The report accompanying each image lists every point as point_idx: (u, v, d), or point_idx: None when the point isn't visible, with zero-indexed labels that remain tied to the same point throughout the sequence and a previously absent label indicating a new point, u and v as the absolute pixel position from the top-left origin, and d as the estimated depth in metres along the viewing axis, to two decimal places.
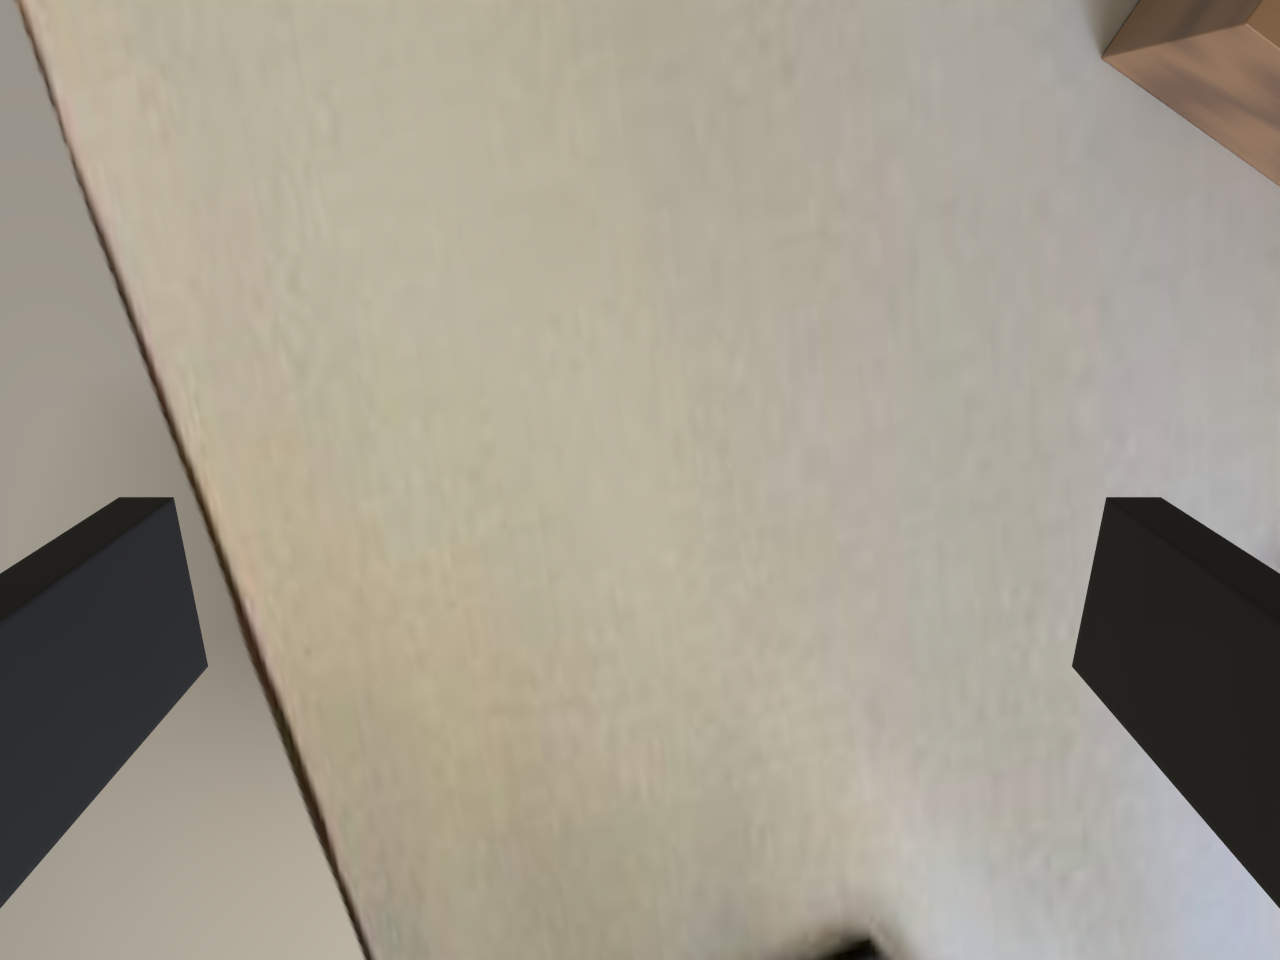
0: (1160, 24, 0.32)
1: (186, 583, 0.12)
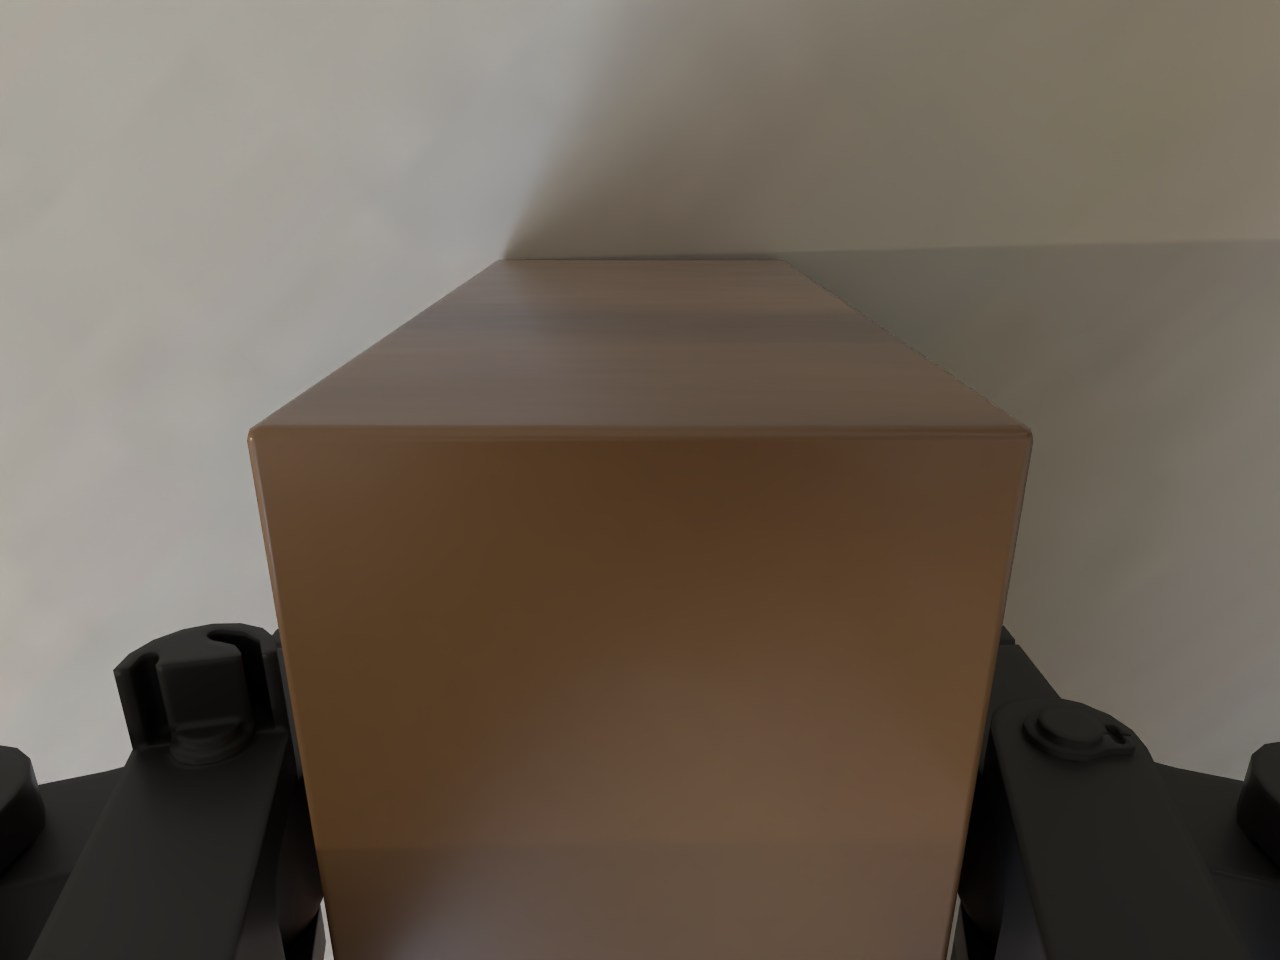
0: (526, 289, 0.10)
1: None
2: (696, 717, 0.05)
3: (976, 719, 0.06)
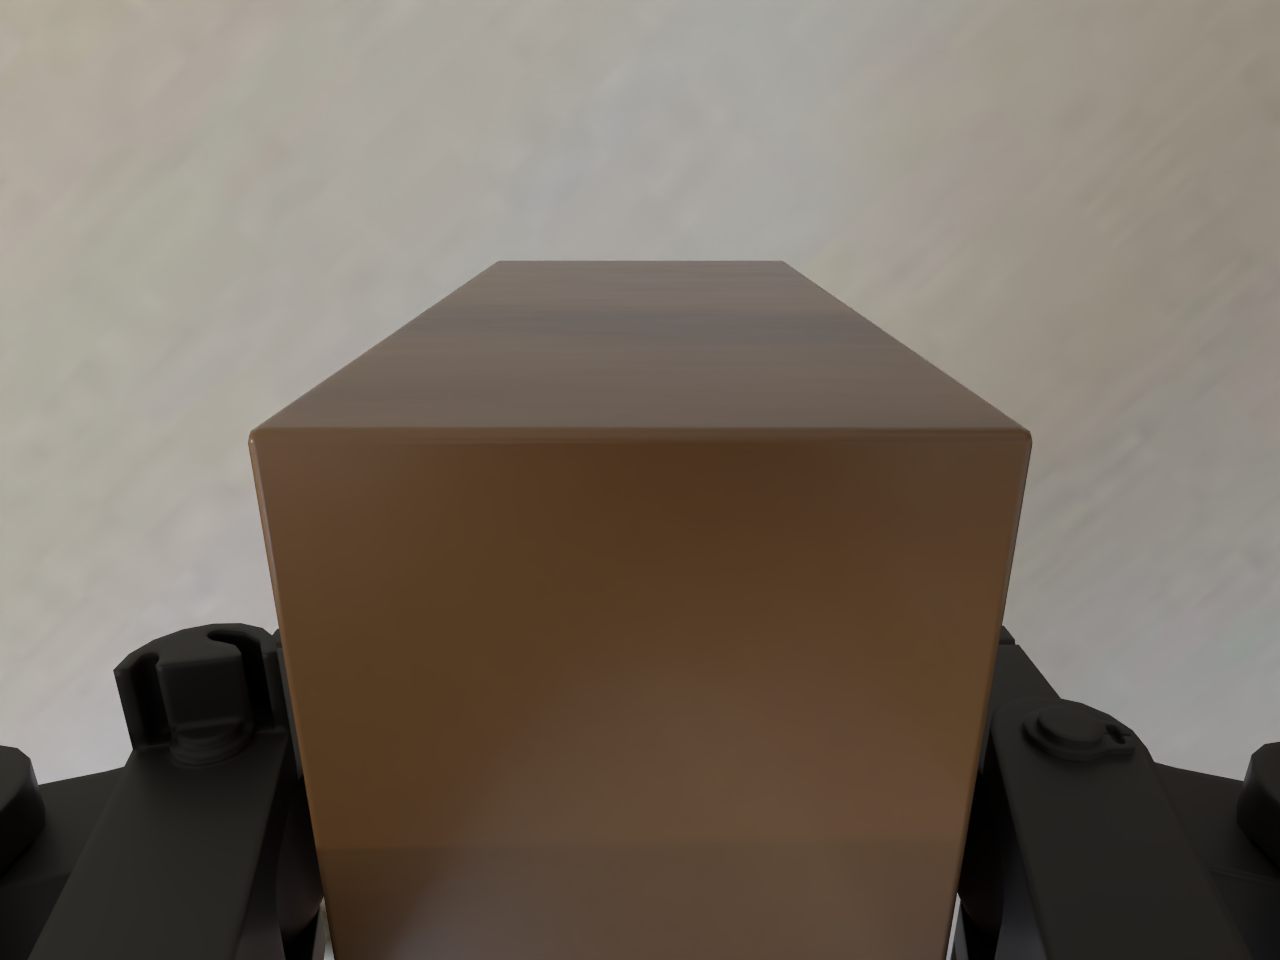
0: (526, 290, 0.10)
1: None
2: (696, 720, 0.05)
3: (976, 721, 0.06)
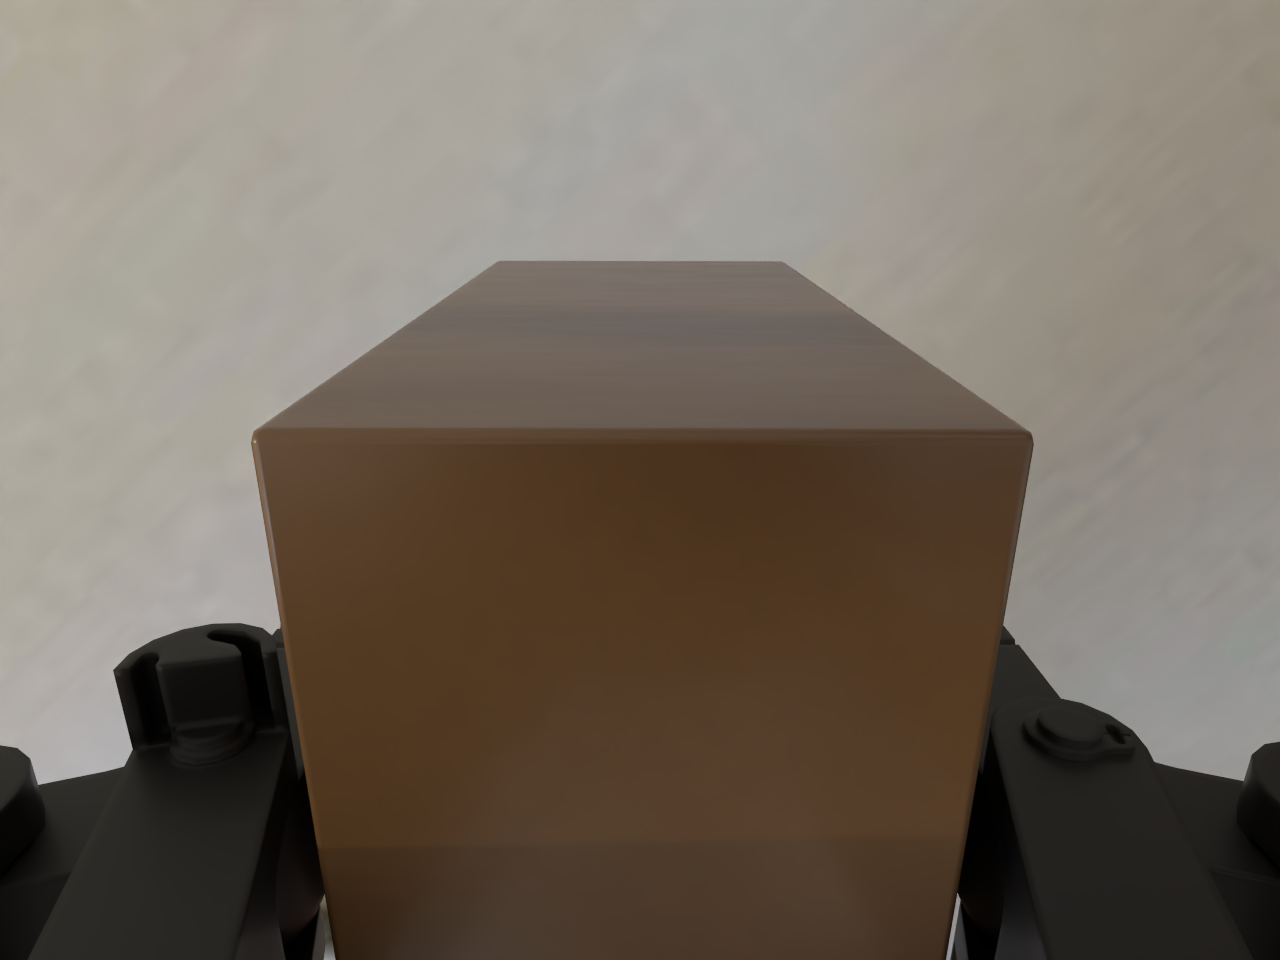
0: (527, 290, 0.10)
1: None
2: (699, 719, 0.06)
3: (976, 721, 0.06)
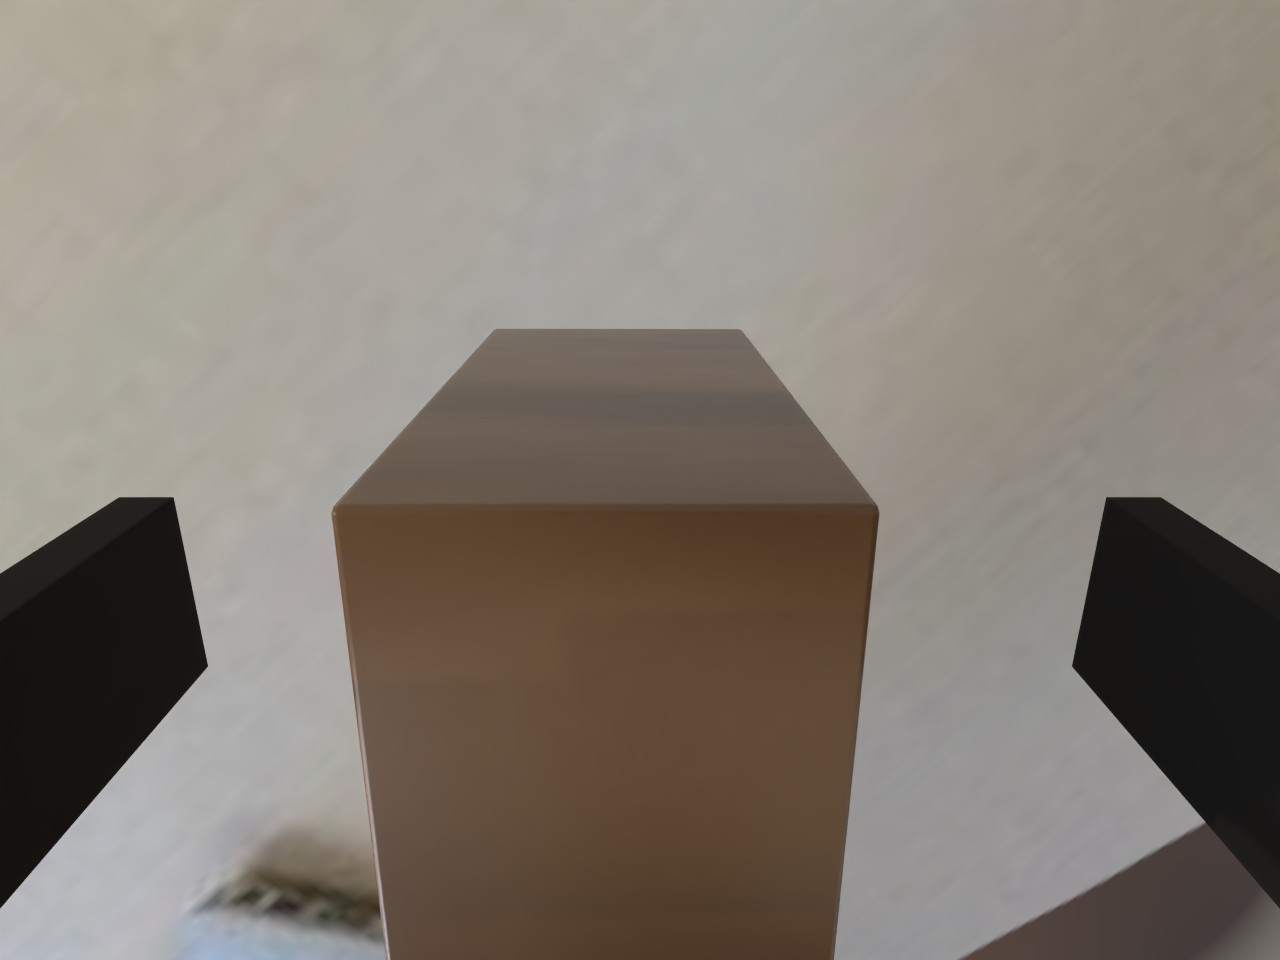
0: (520, 365, 0.12)
1: (186, 583, 0.12)
2: (649, 711, 0.08)
3: (851, 711, 0.08)
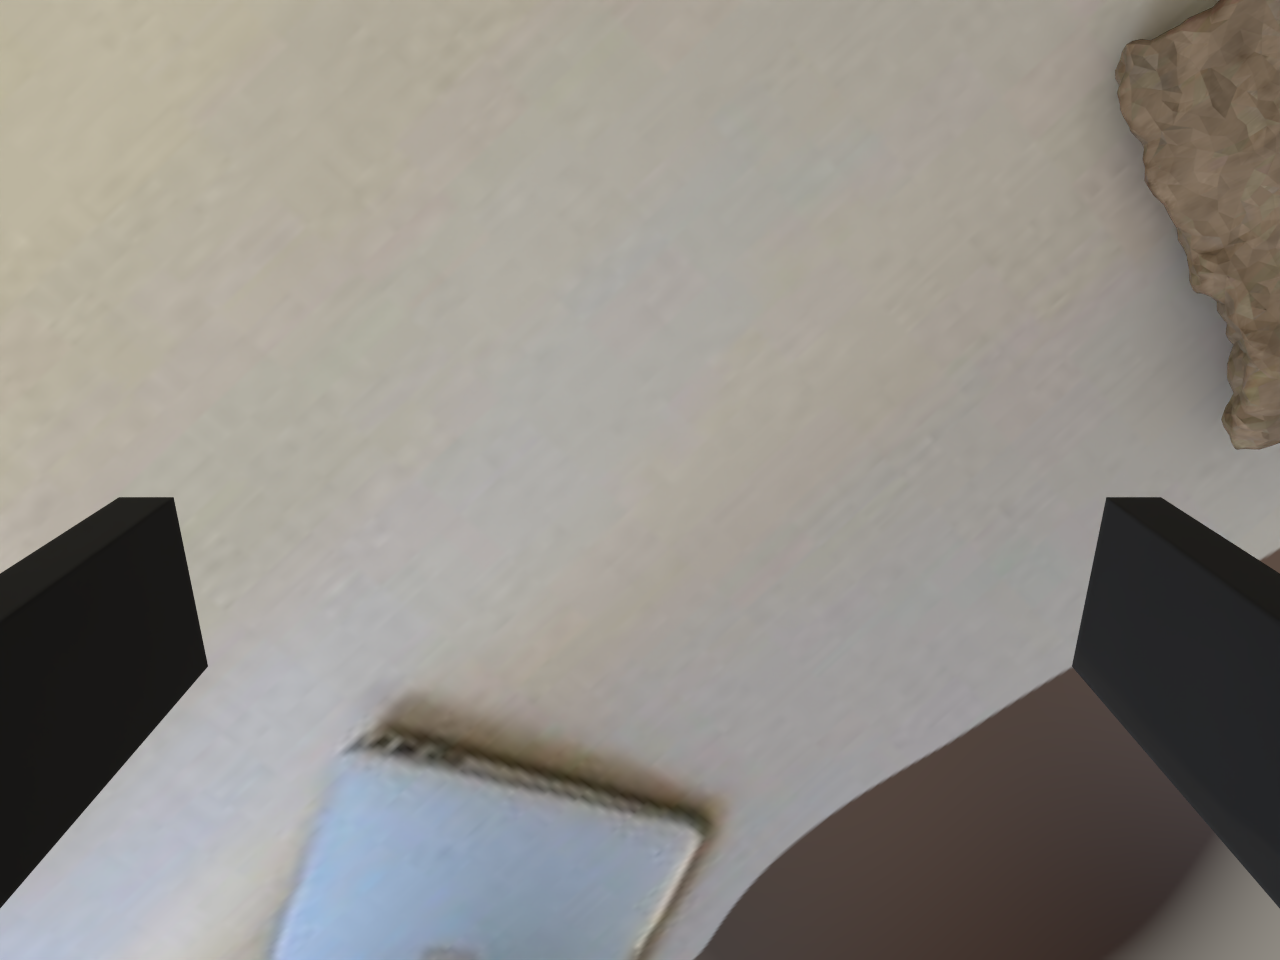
0: None
1: (186, 583, 0.12)
2: None
3: None
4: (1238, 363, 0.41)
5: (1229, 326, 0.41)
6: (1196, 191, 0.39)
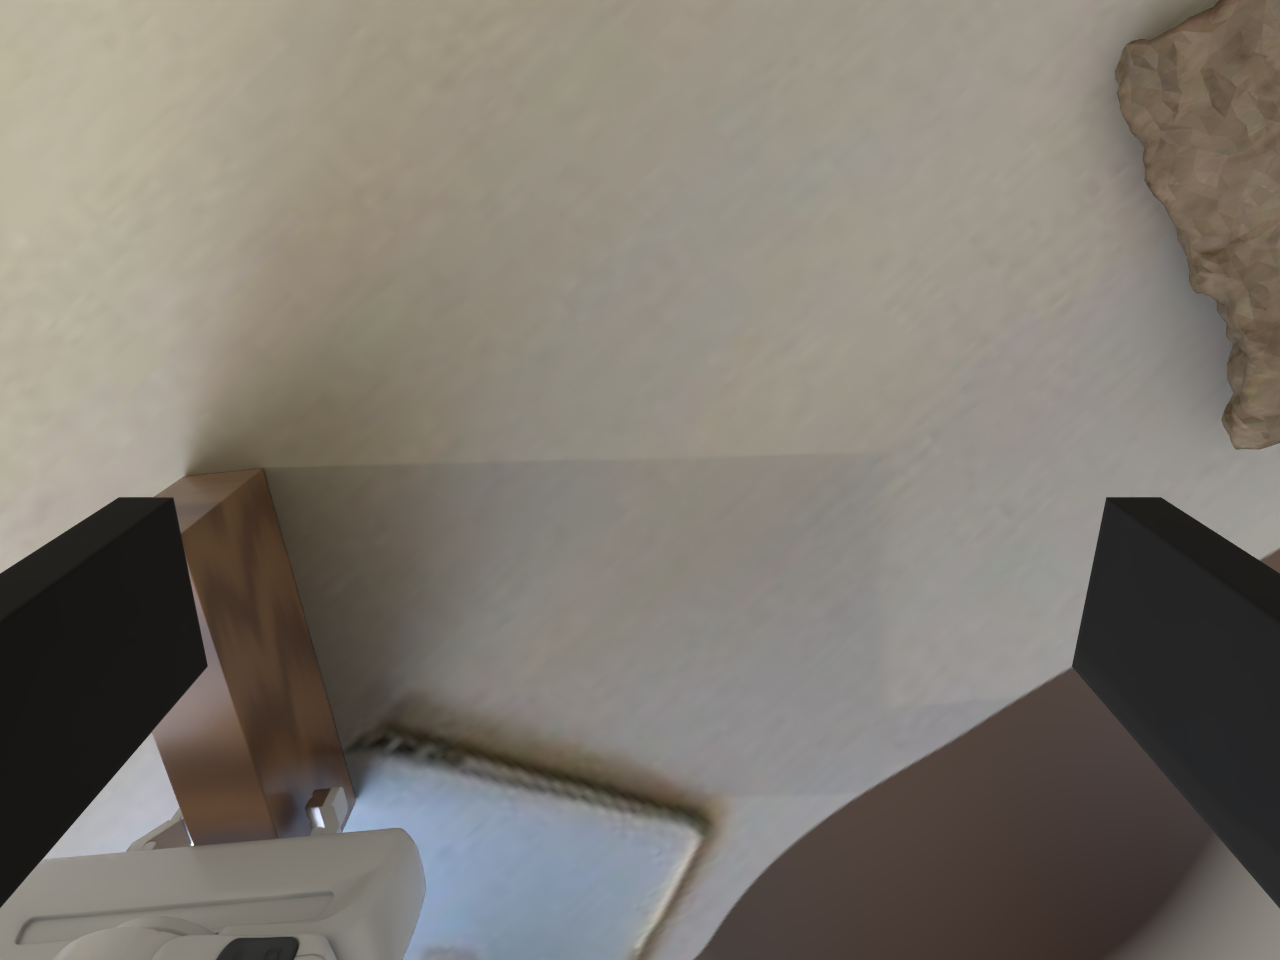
0: None
1: (186, 583, 0.12)
2: None
3: (190, 574, 0.39)
4: (1238, 363, 0.41)
5: (1229, 326, 0.41)
6: (1196, 191, 0.39)
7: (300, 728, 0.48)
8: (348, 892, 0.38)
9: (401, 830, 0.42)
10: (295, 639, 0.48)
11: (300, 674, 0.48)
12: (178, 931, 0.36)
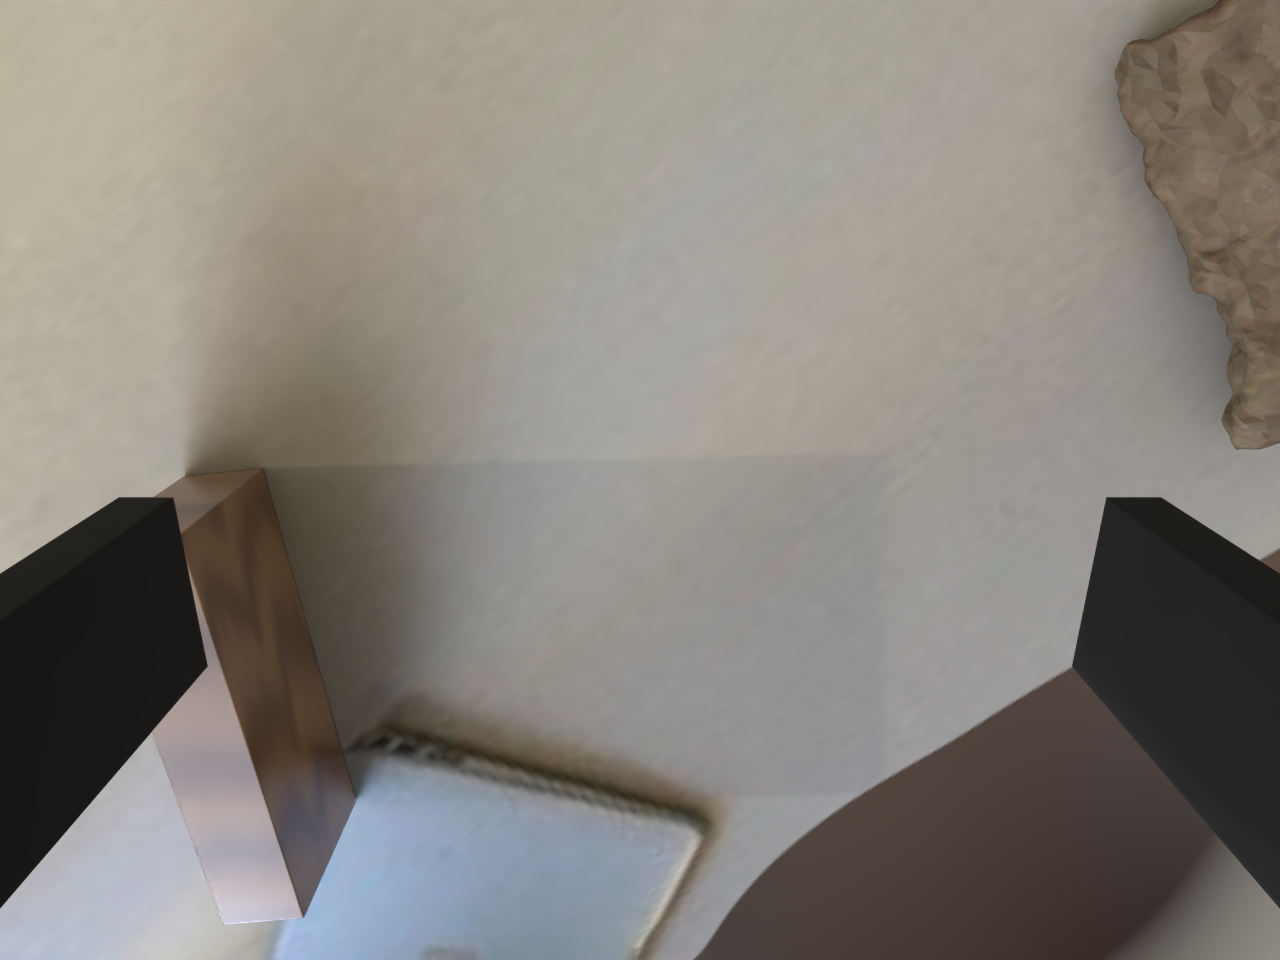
0: None
1: (186, 583, 0.12)
2: None
3: (190, 574, 0.39)
4: (1238, 363, 0.41)
5: (1229, 326, 0.41)
6: (1196, 191, 0.39)
7: (300, 729, 0.48)
8: None
9: None
10: (295, 639, 0.48)
11: (300, 674, 0.48)
12: None
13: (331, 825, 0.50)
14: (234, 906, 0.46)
